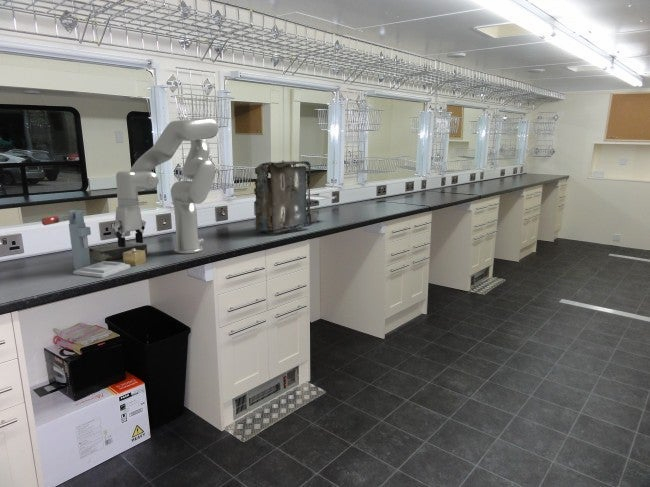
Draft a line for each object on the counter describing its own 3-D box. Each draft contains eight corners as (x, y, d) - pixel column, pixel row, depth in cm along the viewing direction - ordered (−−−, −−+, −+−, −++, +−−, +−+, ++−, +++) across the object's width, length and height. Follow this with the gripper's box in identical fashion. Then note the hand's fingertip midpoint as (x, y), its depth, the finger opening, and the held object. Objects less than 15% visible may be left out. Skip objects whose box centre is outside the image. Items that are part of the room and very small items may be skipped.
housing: (134, 261, 189) (132, 246, 188) (146, 262, 188) (144, 247, 186) (123, 264, 184) (122, 249, 182) (135, 265, 182) (134, 251, 181)
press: (92, 263, 185) (85, 207, 180) (130, 267, 179) (124, 210, 174) (63, 272, 172) (55, 213, 167) (102, 277, 166) (95, 215, 161)
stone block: (147, 254, 200) (146, 243, 199) (101, 263, 187) (100, 251, 185) (134, 250, 210) (133, 239, 209) (89, 258, 196) (88, 246, 195)
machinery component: (264, 237, 232) (261, 163, 223) (244, 232, 245) (241, 161, 237) (312, 229, 253) (311, 161, 245) (291, 224, 267) (290, 160, 258)
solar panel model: (335, 220, 280) (335, 196, 276) (318, 225, 266) (317, 199, 263) (300, 216, 296) (300, 193, 293) (283, 220, 283) (282, 196, 279)
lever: (76, 218, 175) (75, 211, 175) (81, 218, 174) (80, 212, 174) (42, 225, 162) (41, 217, 161) (47, 225, 161) (46, 218, 160)
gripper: (136, 200, 189) (138, 240, 192) (103, 204, 173) (107, 248, 176) (150, 201, 187) (153, 241, 190) (119, 205, 171) (122, 249, 174)
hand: (130, 244), depth 183 cm, fingers open, 9 cm apart
